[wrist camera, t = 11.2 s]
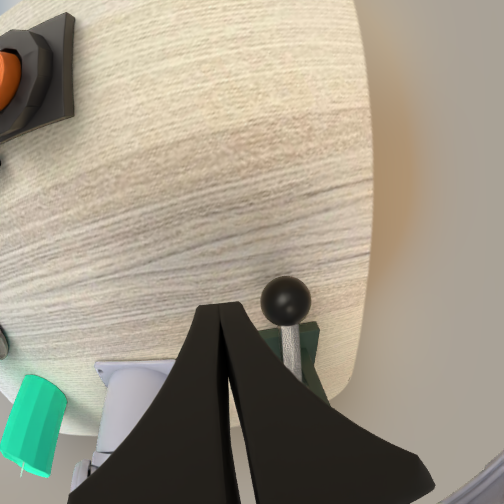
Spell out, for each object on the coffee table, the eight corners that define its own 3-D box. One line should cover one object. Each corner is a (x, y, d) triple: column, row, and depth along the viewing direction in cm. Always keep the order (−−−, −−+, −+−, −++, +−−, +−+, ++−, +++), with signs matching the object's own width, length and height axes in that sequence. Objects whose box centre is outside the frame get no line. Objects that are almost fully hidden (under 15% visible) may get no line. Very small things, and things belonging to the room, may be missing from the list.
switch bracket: (229, 334, 21) (246, 441, 13) (316, 321, 22) (362, 414, 14) (237, 391, 25) (252, 477, 17) (307, 379, 26) (337, 458, 17)
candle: (35, 369, 20) (3, 462, 10) (76, 401, 23) (57, 492, 13) (16, 380, 21) (-12, 460, 10) (53, 409, 24) (35, 487, 13)
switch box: (74, 116, 12) (50, 117, 10) (-11, 150, 11) (-38, 158, 9) (75, 16, 9) (54, 3, 7) (-13, 62, 8) (-38, 60, 6)
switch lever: (254, 276, 18) (262, 282, 15) (300, 271, 18) (316, 275, 15) (271, 438, 18) (279, 462, 15) (309, 430, 18) (321, 452, 15)
